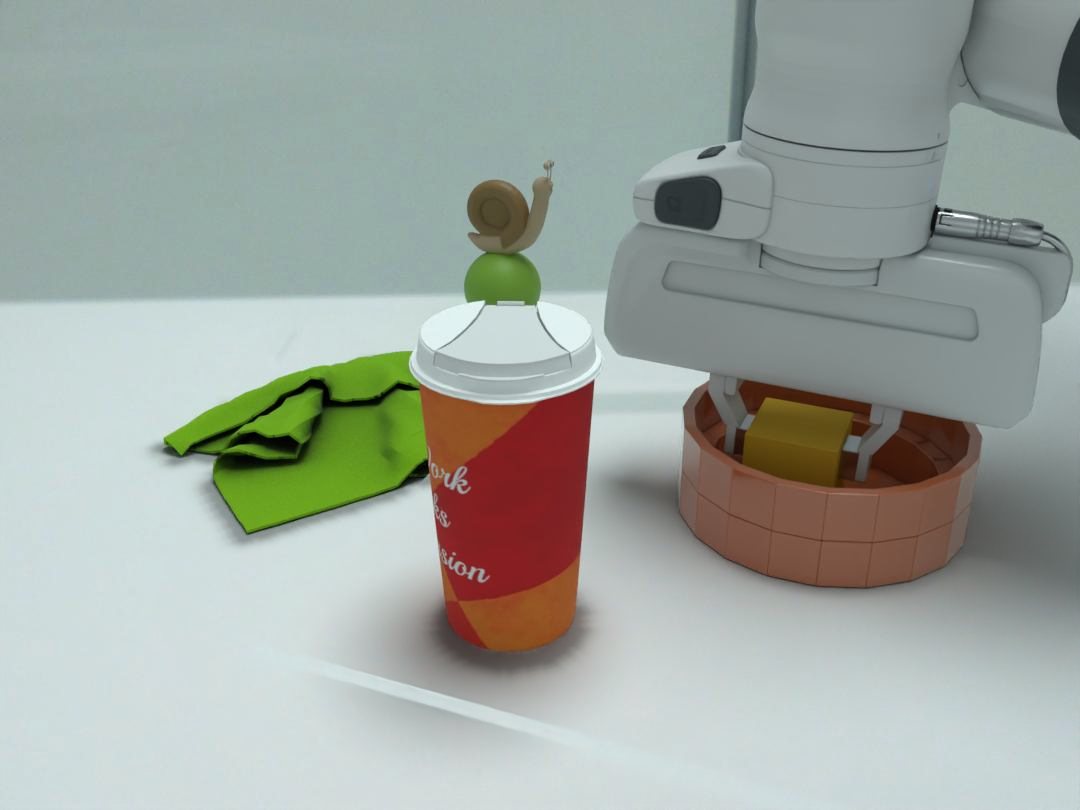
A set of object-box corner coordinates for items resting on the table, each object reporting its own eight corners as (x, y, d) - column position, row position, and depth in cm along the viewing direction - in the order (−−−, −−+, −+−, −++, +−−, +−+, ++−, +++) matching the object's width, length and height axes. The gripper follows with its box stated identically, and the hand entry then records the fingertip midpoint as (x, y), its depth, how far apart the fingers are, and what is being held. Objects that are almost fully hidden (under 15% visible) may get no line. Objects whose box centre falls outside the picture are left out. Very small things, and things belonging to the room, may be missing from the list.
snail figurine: (540, 343, 79) (540, 171, 74) (453, 332, 81) (447, 163, 76) (563, 315, 84) (564, 151, 79) (480, 305, 86) (476, 144, 80)
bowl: (972, 478, 62) (989, 386, 60) (951, 627, 51) (971, 520, 48) (716, 432, 67) (722, 346, 65) (642, 559, 56) (647, 459, 53)
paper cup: (435, 570, 55) (421, 292, 49) (597, 573, 54) (603, 294, 48) (412, 677, 48) (392, 369, 42) (598, 681, 47) (605, 372, 41)
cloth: (530, 359, 77) (530, 325, 76) (513, 537, 57) (512, 495, 56) (226, 356, 77) (222, 322, 76) (106, 531, 58) (98, 489, 57)
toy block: (843, 489, 60) (854, 412, 58) (827, 532, 57) (837, 451, 55) (758, 472, 62) (766, 396, 60) (737, 512, 58) (744, 433, 56)
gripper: (1083, 208, 51) (1017, 481, 57) (644, 152, 58) (626, 400, 64) (1084, 247, 46) (1011, 543, 52) (600, 180, 53) (585, 448, 59)
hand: (794, 464), depth 58 cm, fingers closed on toy block, 4 cm apart
